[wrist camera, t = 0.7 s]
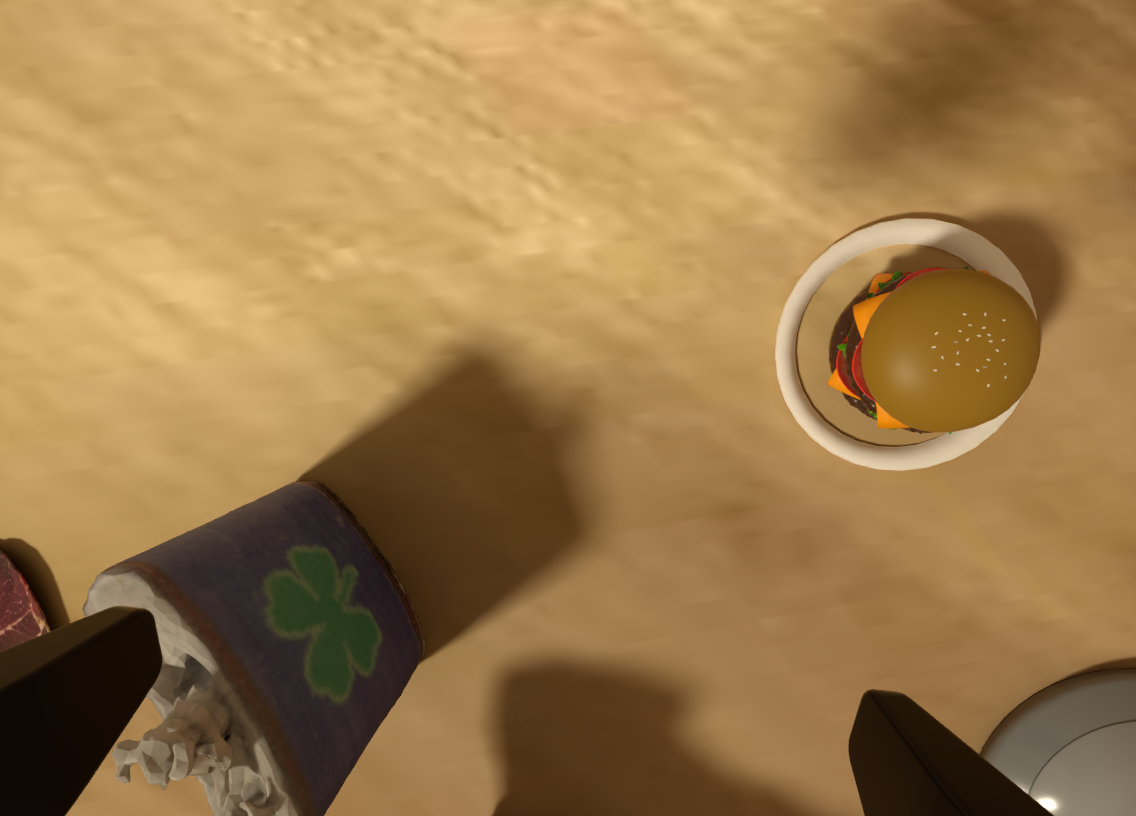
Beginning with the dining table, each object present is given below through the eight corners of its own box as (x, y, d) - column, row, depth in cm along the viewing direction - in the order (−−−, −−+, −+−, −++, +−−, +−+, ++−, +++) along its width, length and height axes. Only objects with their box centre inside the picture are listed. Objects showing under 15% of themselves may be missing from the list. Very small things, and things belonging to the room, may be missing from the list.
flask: (270, 495, 23) (-20, 630, 12) (328, 461, 23) (80, 571, 12) (387, 682, 24) (205, 961, 13) (445, 652, 23) (307, 915, 13)
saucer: (1184, 967, 22) (1208, 994, 21) (920, 862, 23) (933, 883, 22) (1335, 735, 21) (1367, 753, 20) (1049, 625, 21) (1068, 638, 20)
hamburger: (1135, 334, 20) (1326, 332, 15) (887, 565, 22) (977, 639, 17) (892, 107, 20) (997, 21, 15) (660, 359, 22) (676, 367, 16)
